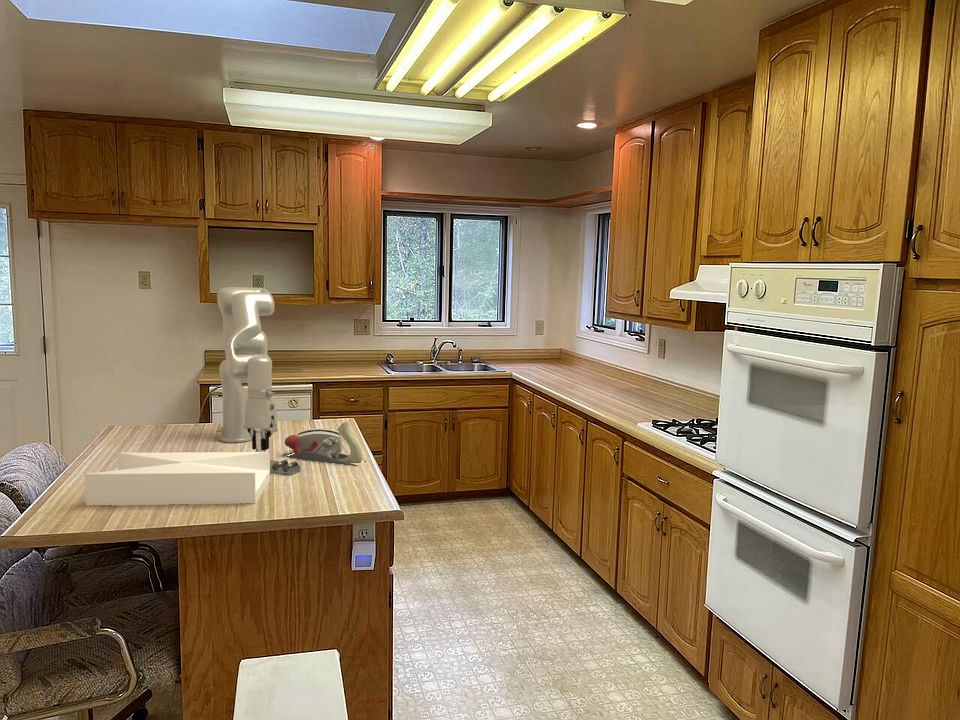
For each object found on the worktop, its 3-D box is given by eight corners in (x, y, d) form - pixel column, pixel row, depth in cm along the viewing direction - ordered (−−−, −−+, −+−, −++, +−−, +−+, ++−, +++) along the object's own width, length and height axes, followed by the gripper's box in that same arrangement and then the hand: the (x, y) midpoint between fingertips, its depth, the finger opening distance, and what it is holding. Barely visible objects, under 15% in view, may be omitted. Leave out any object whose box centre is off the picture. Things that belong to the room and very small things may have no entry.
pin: (259, 457, 227) (259, 425, 226) (269, 458, 226) (269, 426, 224) (251, 460, 223) (251, 427, 222) (261, 461, 222) (261, 428, 221)
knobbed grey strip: (210, 463, 228) (210, 454, 228) (225, 458, 235) (225, 450, 235) (288, 476, 217) (288, 466, 216) (302, 470, 223) (302, 461, 223)
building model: (270, 481, 212) (269, 452, 211) (255, 505, 191) (255, 472, 189) (118, 482, 207) (117, 452, 206) (85, 507, 185) (84, 473, 184)
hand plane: (359, 467, 230) (359, 424, 228) (280, 458, 239) (280, 416, 237) (368, 462, 236) (368, 420, 235) (291, 453, 246) (291, 413, 244)
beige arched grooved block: (342, 448, 253) (342, 425, 249) (342, 455, 249) (341, 432, 245) (297, 448, 251) (295, 426, 246) (295, 456, 247) (294, 433, 242)
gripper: (287, 394, 223) (288, 449, 225) (247, 390, 228) (248, 444, 231) (272, 398, 216) (273, 454, 218) (232, 394, 222) (233, 448, 224)
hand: (260, 448), depth 224 cm, fingers closed on pin, 3 cm apart
